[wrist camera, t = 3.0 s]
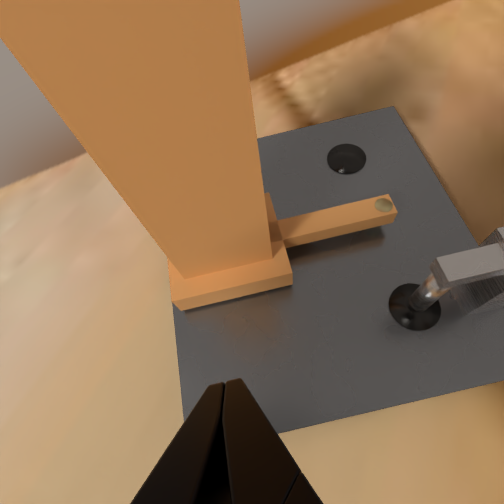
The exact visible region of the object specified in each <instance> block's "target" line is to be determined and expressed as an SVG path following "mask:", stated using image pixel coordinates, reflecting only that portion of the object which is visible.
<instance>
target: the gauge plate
mask: <svg viewBox="0 0 504 504" xmlns="http://www.w3.org/2000/svg"><path fill="white" fill-rule="evenodd" d="M257 142H258V150H259V157H260V165H261V173H262V181H263V188H264V193H269V194H270V197H271V201H272V204H273V208H274V211H275V214H276V218H277V220H281V219H286V218H290V217H294V216H298V215H302V214H306V213H311V212H315V211H319V210H323V209H327V208H332V207H336V206H340V205H344V204H348V203H353V202H357V201H361V200H365V199H369V198H374V197H378V196H382V195H386V194H389V196H390V198H391V200H392V202H393V204H394V206H395V208H396V210H397V212H398V213H397V215H396V217H395V219H394V221H393V223H390V224H385V225H381V226H377V227H373V228H369V229H364V230H360V231H356V232H352V233H348V234H343V235H339V236H335V237H331V238H327V239H322V240H318V241H314V242H310V243H306V244H301V245H297V246H293V247H289V248H285V249H286V252H287V255H288V259H289V262H290V266H291V269H292V273H293V284H292V285H288V286H284V287H280V288H275V289H271V290H267V291H263V292H259V293H254V294H250V295H246V296H242V297H238V298H233V299H229V300H225V301H221V302H217V303H212V304H208V305H204V306H200V307H196V308H191V309H187V310H183V311H181V310H180V309H179V308H178V307H177V306H176V305H175V304H174V303H172V304H173V314H174V324H175V335H176V345H177V355H178V365H179V375H180V385H181V395H182V405H183V416H184V422H185V420H186V419H187V417H188V416H189V414H190V413H191V411H192V409H193V408H194V406H195V405H196V403H197V402H198V400H199V399H200V397H201V396H202V394H203V393H204V391H205V390H206V388H207V387H208V386H209V385H211V384H216V383H220V382H224V383H226V382H227V381H228V380H233V379H237V378H241V379H242V380H243V381H244V383H245V384H246V386H247V387H248V389H249V390H250V392H251V394H252V395H253V397H254V398H255V400H256V401H257V403H258V404H259V406H260V408H261V409H262V411H263V412H264V414H265V415H266V417H267V418H268V420H269V422H270V423H271V425H272V426H273V428H274V429H275V431H276V432H277V434H278V433H282V432H287V431H291V430H295V429H299V428H304V427H308V426H312V425H316V424H321V423H325V422H329V421H333V420H338V419H342V418H346V417H350V416H354V415H359V414H363V413H367V412H371V411H376V410H380V409H384V408H388V407H393V406H397V405H401V404H405V403H410V402H414V401H418V400H422V399H426V398H431V397H435V396H439V395H443V394H448V393H452V392H456V391H460V390H465V389H469V388H473V387H477V386H482V385H486V384H490V383H494V382H498V381H503V380H504V227H501V228H497V229H496V230H495V231H494V232H493V233H492V234H490V235H489V236H488V237H487V238H486V239H485V240H484V241H483V242H482V243H481V244H480V245H479V246H478V244H477V242H476V241H475V239H474V237H473V236H472V234H471V232H470V231H469V229H468V227H467V226H466V224H465V223H464V221H463V219H462V218H461V216H460V214H459V213H458V211H457V209H456V208H455V206H454V205H453V203H452V201H451V200H450V198H449V196H448V195H447V193H446V191H445V190H444V188H443V187H442V185H441V183H440V182H439V180H438V178H437V177H436V175H435V173H434V172H433V170H432V168H431V167H430V165H429V164H428V162H427V160H426V159H425V157H424V155H423V154H422V152H421V150H420V149H419V147H418V146H417V144H416V142H415V141H414V139H413V137H412V136H411V134H410V132H409V131H408V129H407V128H406V126H405V124H404V123H403V121H402V119H401V118H400V116H399V114H398V113H397V111H396V110H395V108H394V106H392V107H387V108H383V109H379V110H375V111H371V112H367V113H362V114H358V115H354V116H350V117H346V118H342V119H337V120H333V121H329V122H325V123H321V124H317V125H312V126H308V127H304V128H300V129H296V130H291V131H287V132H283V133H279V134H275V135H271V136H266V137H262V138H258V139H257Z"/></svg>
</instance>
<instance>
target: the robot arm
mask: <svg viewBox="0 0 504 504" xmlns="http://www.w3.org/2000/svg"><path fill="white" fill-rule="evenodd" d="M130 504H323V502H322V501H321V499H320V498H319V497H318V495H317V494H316V492H315V491H314V489H313V488H312V486H311V485H310V483H309V482H308V480H307V479H306V477H305V476H304V474H303V473H302V472H301V470H300V468H299V467H298V465H297V464H296V462H295V460H294V459H293V457H292V456H291V454H290V453H289V451H288V450H287V448H286V446H285V445H284V443H283V442H282V440H281V439H280V437H279V436H278V434H277V432H276V431H275V429H274V428H273V426H272V425H271V423H270V422H269V420H268V418H267V417H266V415H265V414H264V412H263V411H262V409H261V408H260V406H259V404H258V403H257V401H256V400H255V398H254V397H253V395H252V394H251V392H250V390H249V389H248V387H247V386H246V384H245V383H244V381H243V380H242V379H241V378H237V379H233V380H228V381H227V382H226V383H224V382H220V383H216V384H211V385H209V386H208V387H207V388H206V390H205V391H204V393H203V394H202V396H201V397H200V399H199V400H198V402H197V403H196V405H195V406H194V408H193V409H192V411H191V413H190V414H189V416H188V417H187V419H186V420H185V422H184V423H183V425H182V426H181V428H180V429H179V431H178V432H177V434H176V435H175V437H174V438H173V440H172V441H171V443H170V444H169V446H168V447H167V449H166V450H165V452H164V453H163V455H162V456H161V458H160V459H159V461H158V462H157V464H156V466H155V467H154V469H153V470H152V472H151V473H150V475H149V476H148V478H147V479H146V481H145V482H144V484H143V485H142V487H141V488H140V490H139V491H138V493H137V494H136V496H135V497H134V499H133V500H132V502H131V503H130Z"/></svg>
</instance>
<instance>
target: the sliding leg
mask: <svg viewBox="0 0 504 504" xmlns="http://www.w3.org/2000/svg"><path fill="white" fill-rule="evenodd" d="M0 38H1V39H2V41H3V42H4V43H5V45H6V46H7V47H8V48H9V50H10V51H11V52H12V54H13V55H14V56H15V58H16V59H17V60H18V62H19V63H20V64H21V65H22V67H23V68H24V69H25V71H26V72H27V73H28V75H29V76H30V77H31V79H32V80H33V81H34V82H35V84H36V85H37V87H38V88H39V89H40V90H41V92H42V93H43V94H44V96H45V97H46V98H47V100H48V101H49V102H50V104H51V105H52V106H53V108H54V109H55V110H56V111H57V113H58V114H59V115H60V117H61V118H62V119H63V121H64V122H65V123H66V125H67V126H68V127H69V128H70V130H71V131H72V132H73V134H74V135H75V136H76V138H77V139H78V140H79V142H80V143H81V144H82V146H83V147H84V148H85V150H86V151H87V152H88V153H89V155H90V156H91V157H92V159H93V160H94V161H95V163H96V164H97V165H98V167H99V168H100V169H101V171H102V172H103V173H104V174H105V176H106V177H107V178H108V180H109V181H110V182H111V184H112V185H113V186H114V188H115V189H116V190H117V192H118V193H119V194H120V195H121V197H122V198H123V199H124V201H125V202H126V203H127V205H128V206H129V207H130V209H131V210H132V211H133V213H134V214H135V215H136V216H137V218H138V219H139V220H140V222H141V223H142V224H143V226H144V227H145V228H146V230H147V231H148V232H149V234H150V235H151V236H152V237H153V239H154V240H155V241H156V243H157V244H158V245H159V247H160V248H161V249H162V251H163V252H164V253H165V255H166V256H167V259H168V269H169V279H170V289H171V300H172V303H174V304H175V305H176V306H177V307H178V308H179V309H180V310H181V311H183V310H187V309H191V308H196V307H200V306H204V305H208V304H212V303H217V302H221V301H225V300H229V299H233V298H238V297H242V296H246V295H250V294H254V293H259V292H263V291H267V290H271V289H275V288H280V287H284V286H288V285H292V284H293V273H292V269H291V266H290V262H289V259H288V255H287V252H286V249H285V248H289V247H293V246H297V245H301V244H306V243H310V242H314V241H318V240H322V239H327V238H331V237H335V236H339V235H343V234H348V233H352V232H356V231H360V230H364V229H369V228H373V227H377V226H381V225H385V224H390V223H393V221H394V219H395V217H396V215H397V213H398V212H397V210H396V208H395V206H394V204H393V202H392V200H391V198H390V196H389V194H386V195H382V196H378V197H374V198H369V199H365V200H361V201H357V202H353V203H348V204H344V205H340V206H336V207H332V208H327V209H323V210H319V211H315V212H311V213H306V214H302V215H298V216H294V217H290V218H286V219H281V220H277V218H276V214H275V211H274V208H273V204H272V201H271V197H270V194H269V193H264V188H263V181H262V173H261V165H260V157H259V150H258V142H257V134H256V127H255V119H254V111H253V104H252V96H251V88H250V81H249V73H248V66H247V58H246V50H245V42H244V35H243V28H242V19H241V12H240V5H239V0H0Z"/></svg>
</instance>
